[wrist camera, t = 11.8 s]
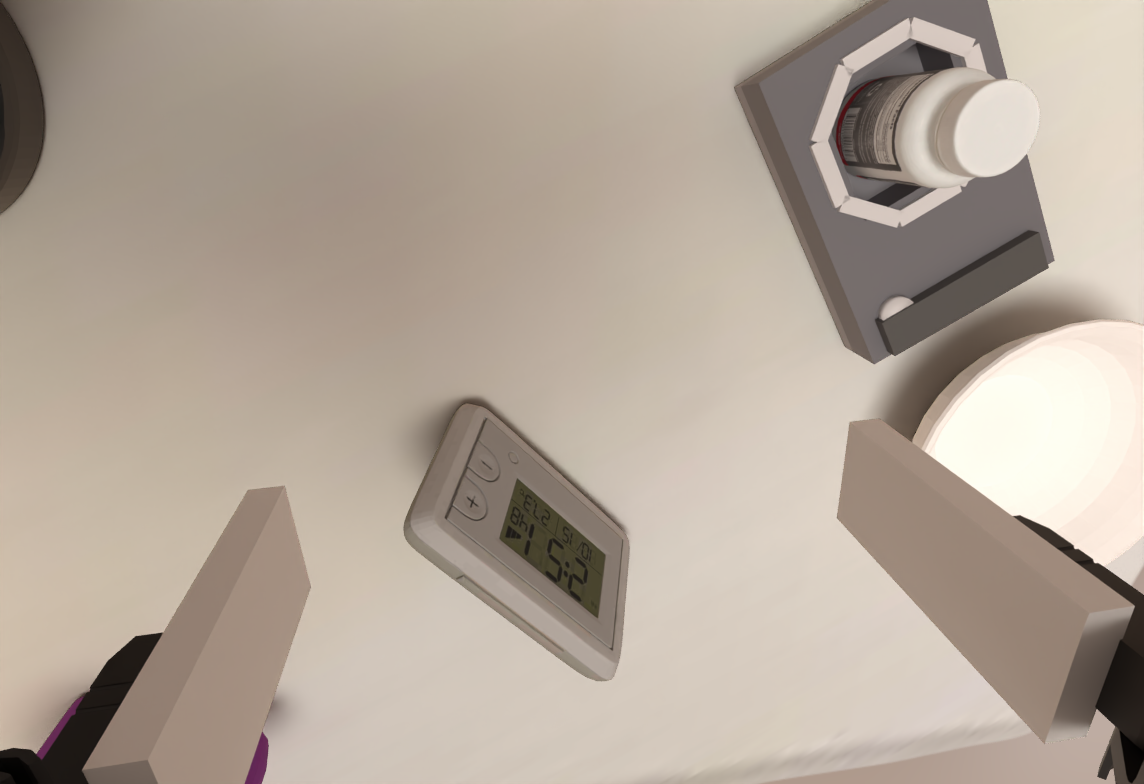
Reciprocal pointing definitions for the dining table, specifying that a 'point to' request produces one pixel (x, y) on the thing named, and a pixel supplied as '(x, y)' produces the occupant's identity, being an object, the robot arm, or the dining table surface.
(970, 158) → the pill bottle
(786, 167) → the octagonal hole plate
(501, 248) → the dining table surface
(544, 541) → the digital clock
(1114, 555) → the bowl
